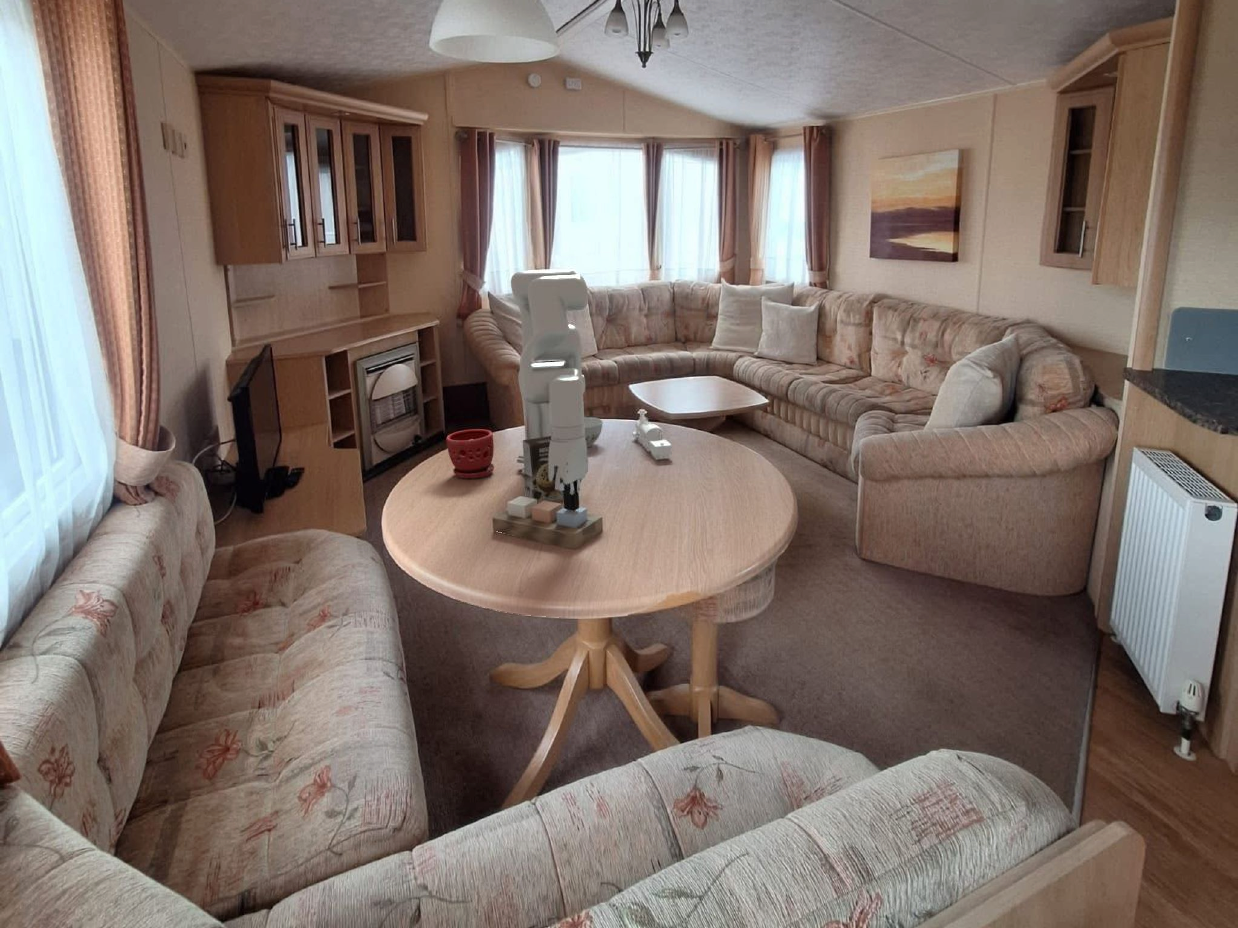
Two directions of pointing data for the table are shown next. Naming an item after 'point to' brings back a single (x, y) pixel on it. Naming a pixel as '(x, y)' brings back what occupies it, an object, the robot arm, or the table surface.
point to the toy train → (651, 438)
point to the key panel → (548, 530)
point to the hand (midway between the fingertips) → (571, 508)
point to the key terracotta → (545, 511)
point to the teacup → (592, 430)
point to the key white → (521, 506)
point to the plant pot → (471, 452)
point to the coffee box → (538, 471)
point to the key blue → (572, 517)
